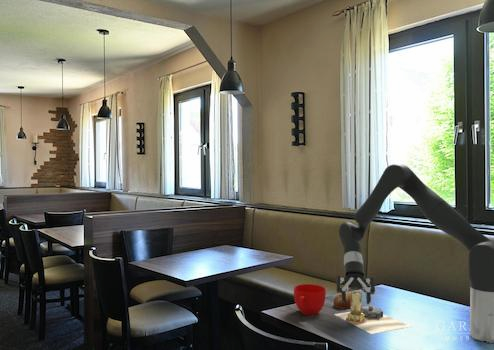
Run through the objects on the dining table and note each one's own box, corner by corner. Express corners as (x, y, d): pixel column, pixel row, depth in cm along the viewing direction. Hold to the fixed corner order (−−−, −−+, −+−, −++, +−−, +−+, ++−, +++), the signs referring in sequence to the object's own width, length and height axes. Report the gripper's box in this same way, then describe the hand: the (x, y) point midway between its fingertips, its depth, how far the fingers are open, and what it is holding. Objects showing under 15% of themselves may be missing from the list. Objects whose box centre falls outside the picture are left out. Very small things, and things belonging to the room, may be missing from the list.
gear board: (410, 330, 158) (411, 317, 158) (371, 338, 151) (371, 324, 151) (370, 312, 179) (370, 300, 178) (334, 318, 171) (334, 305, 171)
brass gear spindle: (367, 320, 164) (368, 294, 163) (354, 323, 161) (354, 296, 161) (357, 315, 169) (357, 290, 169) (344, 317, 167) (344, 291, 167)
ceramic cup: (284, 317, 171) (285, 292, 171) (300, 305, 186) (300, 282, 186) (316, 323, 165) (316, 297, 165) (329, 310, 180) (330, 286, 180)
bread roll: (344, 310, 192) (338, 292, 194) (365, 304, 186) (357, 286, 188) (334, 316, 184) (327, 297, 186) (354, 310, 179) (347, 291, 181)
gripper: (336, 259, 173) (337, 296, 162) (373, 260, 171) (377, 298, 160) (335, 269, 179) (336, 306, 167) (371, 271, 177) (374, 308, 165)
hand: (356, 302), depth 164 cm, fingers open, 8 cm apart
